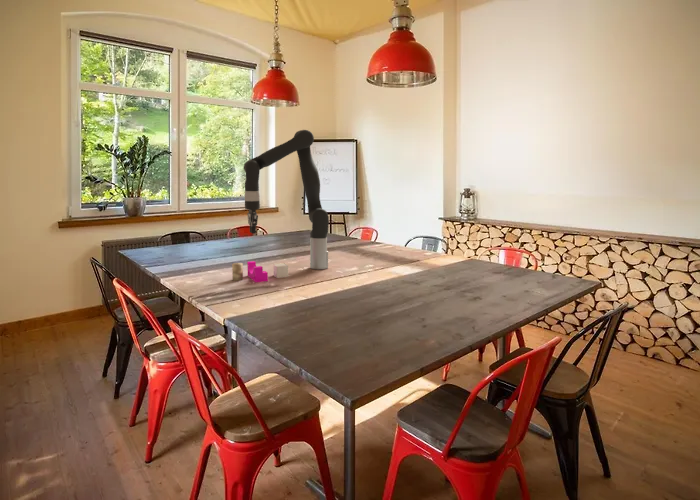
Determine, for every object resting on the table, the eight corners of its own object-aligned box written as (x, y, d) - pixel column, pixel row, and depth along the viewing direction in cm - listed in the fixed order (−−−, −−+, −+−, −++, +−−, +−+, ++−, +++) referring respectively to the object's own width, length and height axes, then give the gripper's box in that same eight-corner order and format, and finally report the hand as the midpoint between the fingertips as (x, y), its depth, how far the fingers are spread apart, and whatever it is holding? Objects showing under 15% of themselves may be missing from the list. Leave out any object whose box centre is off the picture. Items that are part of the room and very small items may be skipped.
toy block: (267, 281, 225) (267, 266, 224) (255, 282, 222) (255, 267, 221) (259, 274, 238) (259, 260, 237) (247, 276, 235) (247, 261, 234)
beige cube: (284, 274, 240) (284, 263, 239) (288, 277, 234) (288, 265, 233) (273, 275, 237) (273, 264, 236) (276, 278, 232) (276, 266, 231)
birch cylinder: (241, 278, 230) (241, 262, 228) (243, 280, 225) (243, 264, 224) (231, 279, 228) (231, 263, 226) (233, 281, 223) (233, 265, 222)
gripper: (262, 200, 231) (263, 234, 234) (256, 198, 244) (256, 231, 247) (247, 201, 228) (248, 235, 231) (241, 199, 240) (242, 231, 243)
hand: (252, 232), depth 239 cm, fingers open, 3 cm apart
